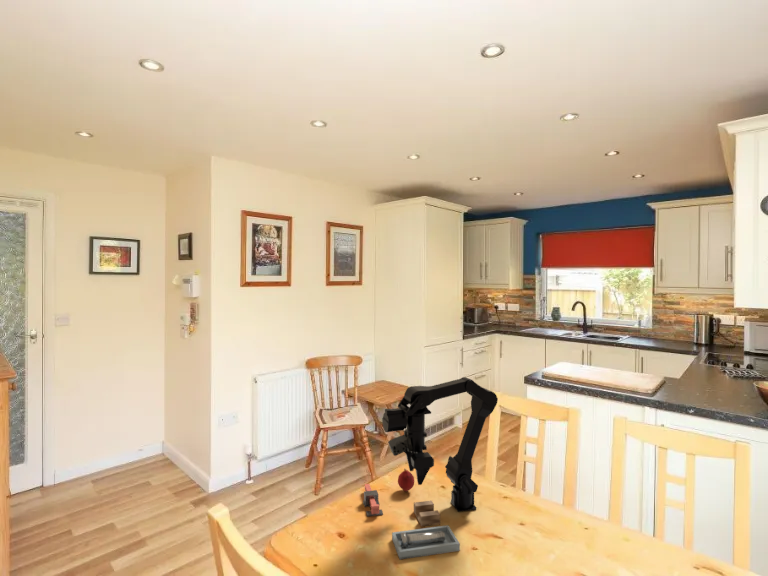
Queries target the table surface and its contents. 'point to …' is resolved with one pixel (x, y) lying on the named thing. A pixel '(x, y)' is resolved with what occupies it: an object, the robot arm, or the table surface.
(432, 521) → the channel block
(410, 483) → the onion
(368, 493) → the keeper guide
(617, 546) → the table surface
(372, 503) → the keeper bar
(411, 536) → the pin
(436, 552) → the tray
